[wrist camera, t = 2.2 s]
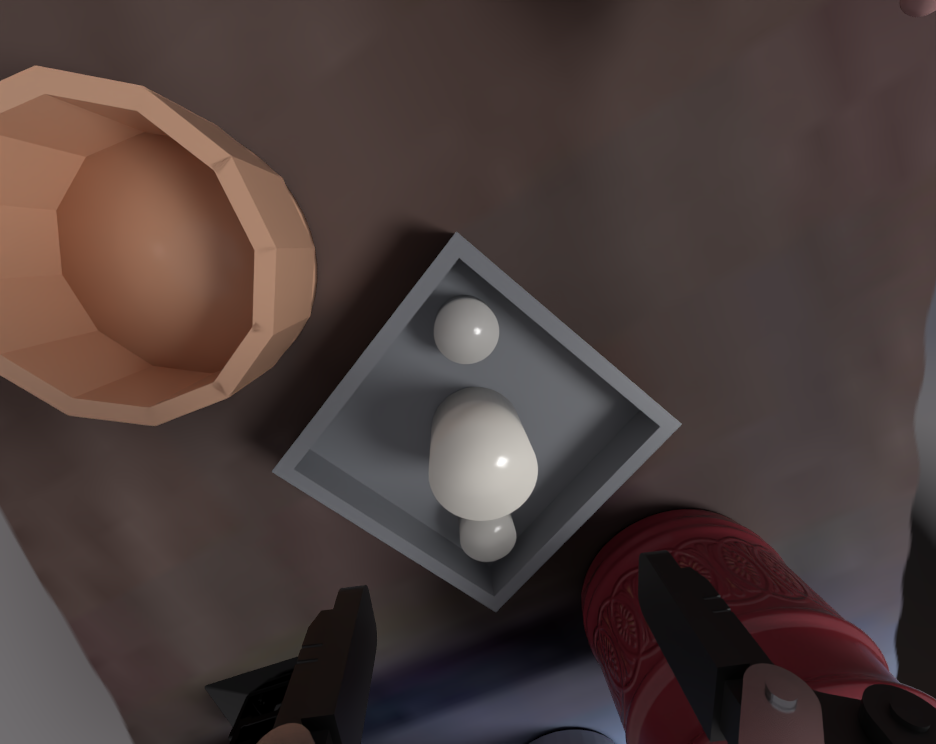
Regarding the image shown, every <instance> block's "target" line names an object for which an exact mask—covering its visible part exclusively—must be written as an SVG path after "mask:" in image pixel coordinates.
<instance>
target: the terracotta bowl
mask: <svg viewBox="0 0 936 744" xmlns="http://www.w3.org/2000/svg"><path fill="white" fill-rule="evenodd" d="M316 287H317V259H316V252H315V246H314V242H313V238H312V235H311V231H310V228H309V226H308V223H307V221H306V218H305V216H304V214H303V212H302V210H301V208H300V206H299V204H298V202H297V201H296V199H295V197H294V196H293V194H292V193H291V192H290V190H289V189H288V187H287V186H286V184H285V183H284V181H283V178H282V177H281V176H279V175H278V174H277V173H276V172H274V171H273V169H272V168H271V167H269V166H268V165H267V164H266V163H265V162H264V161H263V160H262V159H261V158H259V157H258V156H257V155H256V154H254V153H253V152H251V151H250V150H249V149H247V148H246V147H244V146H243V145H242V144H240V143H238V142H237V141H236V140H234V139H233V138H232V137H231V136H229V135H228V134H227V133H226V132H224V131H223V130H222V129H221V128H219V127H218V126H217V125H215V124H213V123H211V122H209V121H207V120H206V119H204V118H202V117H200V116H198V115H196V114H194V113H192V112H191V111H189V110H187V109H185V108H183V107H181V106H179V105H178V104H176V103H174V102H172V101H170V100H168V99H166V98H164V97H163V96H161V95H159V94H157V93H155V92H153V91H151V90H150V89H148V88H146V87H144V86H140V85H135V84H130V83H125V82H119V81H114V80H109V79H104V78H98V77H93V76H88V75H83V74H77V73H72V72H67V71H62V70H57V69H51V68H46V67H41V66H36V65H35V66H33V67H31V68H28V69H26V70H24V71H22V72H19V73H17V74H15V75H13V76H10V77H8V78H6V79H4V80H1V81H0V375H1V376H2V377H4V378H6V379H7V380H9V381H11V382H12V383H14V384H16V385H17V386H19V387H21V388H23V389H24V390H26V391H28V392H29V393H31V394H33V395H34V396H36V397H38V398H40V399H41V400H43V401H45V402H46V403H48V404H50V405H51V406H53V407H55V408H56V409H58V410H60V411H62V412H63V413H65V414H67V415H68V416H76V417H84V418H92V419H100V420H109V421H117V422H125V423H133V424H142V425H150V426H157V425H160V424H162V423H165V422H167V421H170V420H172V419H175V418H178V417H180V416H183V415H185V414H188V413H190V412H193V411H196V410H198V409H201V408H203V407H206V406H208V405H211V404H214V403H216V402H219V401H221V400H224V399H226V398H229V397H230V396H232V395H233V394H235V393H236V392H238V391H239V390H240V389H242V388H243V387H245V386H246V385H248V384H249V383H250V382H252V381H253V380H255V379H256V378H258V377H259V376H261V375H262V374H263V373H265V372H266V371H268V370H269V369H271V368H272V367H274V366H275V364H276V363H277V362H278V360H279V359H280V357H281V356H282V355H283V353H284V352H285V351H286V350H288V349H289V347H290V346H291V345H292V344H293V343H294V341H295V340H296V339H297V338H298V336H299V335H300V333H301V331H302V330H303V328H304V327H305V325H306V322H307V320H308V319H309V317H310V316H311V310H312V307H313V303H314V299H315V295H316Z"/></svg>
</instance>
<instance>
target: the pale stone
mask: <svg viewBox="0 0 936 744" xmlns="http://www.w3.org/2000/svg"><path fill="white" fill-rule="evenodd" d="M428 474H429V483H430V487H431V489H432V492H433V494H434V496H435V498H436V499H437V500H438V502H439V503H440V504H441V505H442V506H443V507H444V508H445V509H447V510H448V511H449V512H451V513H453V514H454V515H456V516H459V517H461V518H465V519H468V520H474V521H487V520H494V519H498V518H501V517H503V516H506V515H508V514H510V513H512V512H513V511H515V510H516V509H518V508H519V507H520V506H521V505H522V504H523V503H524V502H525V501H526V500H527V499H528V498H529V496H530V494H531V493H532V491H533V489H534V487H535V484H536V481H537V475H538V464H537V459H536V455H535V453H534V451H533V448H532V446H531V444H530V442H529V439H528V437H527V435H526V433H525V430H524V428H523V426H522V424H521V421H520V419H519V417H518V415H517V412H516V410H515V408H514V407H513V405H512V404H511V402H510V401H509V400H508V399H507V398H506V397H505V396H503V395H502V394H500V393H499V392H496V391H494V390H492V389H489V388H484V387H470V388H465V389H461V390H459V391H457V392H454V393H453V394H451V395H449V396H448V397H447V398H446V399H445V400H444V401H443V402H442V403H441V404H440V405H439V407H438V408H437V410H436V412H435V414H434V416H433V420H432V427H431V442H430V457H429V473H428Z"/></svg>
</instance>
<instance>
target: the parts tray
mask: <svg viewBox="0 0 936 744" xmlns="http://www.w3.org/2000/svg"><path fill="white" fill-rule="evenodd" d="M461 295H469V296H474V297H477V298H479V299H481V300H482V301H483V302H485V303H486V304H487V305H488V307H489V308H490V309H491V311H492V312H493V313H494V315H495V317H496V319H497V321H498V325H499V338H498V342H497V344H496V347H495V348H494V350H493V351H492V352H491V354H490V355H489V356H487V357H486V358H485V359H483V360H481V361H479V362H477V363H473V364H460V363H456V362H453V361H451V360H449V359H448V358H446V357H445V356H444V355H443V354H442V353H441V352H440V350H439V349H438V347H437V345H436V342H435V339H434V324H435V318H436V315H437V312H438V310H439V309H440V307H441V306H442V305H443V304H444V303H445V302H446V301H448V300H449V299H451V298H453V297H456V296H461ZM470 387H484V388H489V389H492V390H494V391H496V392H499V393H500V394H502V395H503V396H505V397H506V398H507V399H508V400H509V401H510V402H511V404H512V405H513V407H514V408H515V410H516V412H517V415H518V417H519V419H520V421H521V424H522V426H523V428H524V430H525V433H526V435H527V437H528V439H529V442H530V444H531V446H532V448H533V451H534V453H535V455H536V459H537V464H538V475H537V481H536V484H535V487H534V489H533V491H532V493H531V494H530V496H529V498H528V499H527V500H526V501H525V502H524V503H523V504H522V505H521V506H520V507H519V508H518V509H516V510H515V511H513V512H512V513H511V516H512V519H513V523H514V527H515V530H516V542H515V545H514V547H513V548H512V550H511V551H510V552H509V553H508V554H507V555H506V556H504V557H503V558H501V559H498V560H496V561H491V562H482V561H478V560H475V559H473V558H471V557H469V556H468V555H467V554H466V553H465V552H464V550H463V549H462V547H461V543H460V532H459V516H456V515H454V514H453V513H451V512H449V511H448V510H447V509H445V508H444V507H443V506H442V505H441V504H440V503H439V502H438V500H437V499H436V498H435V496H434V494H433V492H432V489H431V487H430V483H429V474H428V473H429V457H430V442H431V427H432V420H433V416H434V414H435V412H436V410H437V408H438V407H439V405H440V404H441V403H442V402H443V401H444V400H445V399H446V398H447V397H448V396H449V395H451V394H453V393H454V392H457V391H459V390H461V389H465V388H470ZM681 425H682V424H681V423H680V422H679V421H678V420H676V419H675V418H674V417H673V416H672V415H670V414H669V413H668V412H667V411H666V410H665V409H663V408H662V407H661V406H660V405H659V404H658V403H656V402H655V401H654V400H653V399H652V398H651V397H649V396H648V395H647V394H646V393H645V392H644V391H642V390H641V389H640V388H639V387H638V386H637V385H635V384H634V383H633V382H632V381H631V380H630V379H628V378H627V377H626V376H625V375H624V374H622V373H621V372H620V371H619V370H618V369H617V368H615V367H614V366H613V365H612V364H611V363H610V362H608V361H607V360H606V359H605V358H604V357H603V356H601V355H600V354H599V353H598V352H597V351H596V350H594V349H593V348H592V347H591V346H590V345H589V344H587V343H586V342H585V341H584V340H583V339H582V338H580V337H579V336H578V335H577V334H576V333H574V332H573V331H572V330H571V329H570V328H569V327H567V326H566V325H565V324H564V323H563V322H562V321H560V320H559V319H558V318H557V317H556V316H555V315H553V314H552V313H551V312H550V311H549V310H548V309H546V308H545V307H544V306H543V305H542V304H541V303H539V302H538V301H537V300H536V299H535V298H534V297H532V296H531V295H530V294H529V293H528V292H526V291H525V290H524V289H523V288H522V287H521V286H519V285H518V284H517V283H516V282H515V281H514V280H512V279H511V278H510V277H509V276H508V275H507V274H505V273H504V272H503V271H502V270H501V269H500V268H498V267H497V266H496V265H495V264H494V263H493V262H491V261H490V260H489V259H488V258H487V257H485V256H484V255H483V254H482V253H481V252H480V251H478V250H477V249H476V248H475V247H474V246H473V245H471V244H470V243H469V242H468V241H467V240H466V239H464V238H463V237H462V236H461V235H460V234H459V233H457V232H456V233H455V234H454V235H453V237H452V238H451V239H450V241H449V242H448V243H447V244H446V246H445V247H444V248H443V250H442V251H441V252H440V254H439V255H438V256H437V257H436V259H435V260H434V261H433V263H432V264H431V265H430V267H429V268H428V269H427V270H426V272H425V273H424V274H423V276H422V277H421V278H420V280H419V281H418V282H417V283H416V285H415V286H414V287H413V289H412V290H411V291H410V292H409V294H408V295H407V296H406V298H405V299H404V300H403V302H402V303H401V304H400V305H399V307H398V308H397V309H396V311H395V312H394V313H393V315H392V316H391V317H390V318H389V320H388V321H387V322H386V324H385V325H384V326H383V328H382V329H381V330H380V331H379V333H378V334H377V335H376V337H375V338H374V339H373V341H372V342H371V343H370V344H369V346H368V347H367V348H366V350H365V351H364V352H363V354H362V355H361V356H360V357H359V359H358V360H357V361H356V363H355V364H354V365H353V367H352V368H351V369H350V370H349V372H348V373H347V374H346V376H345V377H344V378H343V380H342V381H341V382H340V383H339V385H338V386H337V387H336V389H335V390H334V391H333V393H332V394H331V395H330V396H329V398H328V399H327V400H326V402H325V403H324V404H323V406H322V407H321V408H320V409H319V411H318V412H317V413H316V415H315V416H314V417H313V419H312V420H311V421H310V422H309V424H308V425H307V426H306V428H305V429H304V430H303V431H302V433H301V434H300V435H299V437H298V438H297V439H296V441H295V442H294V443H293V444H292V446H291V447H290V448H289V450H288V451H287V452H286V454H285V455H284V456H283V457H282V459H281V460H280V461H279V463H278V464H277V465H276V467H275V468H274V469H273V470H272V472H273V473H274V474H276V475H278V476H279V477H281V478H282V479H284V480H286V481H287V482H289V483H290V484H292V485H294V486H295V487H297V488H298V489H300V490H302V491H303V492H305V493H306V494H308V495H309V496H311V497H313V498H314V499H316V500H317V501H319V502H321V503H322V504H324V505H325V506H327V507H329V508H330V509H332V510H333V511H335V512H337V513H338V514H340V515H341V516H343V517H345V518H346V519H348V520H349V521H351V522H353V523H354V524H356V525H357V526H359V527H361V528H362V529H364V530H365V531H367V532H368V533H370V534H372V535H373V536H375V537H376V538H378V539H380V540H381V541H383V542H384V543H386V544H388V545H389V546H391V547H392V548H394V549H396V550H397V551H399V552H400V553H402V554H404V555H405V556H407V557H408V558H410V559H412V560H413V561H415V562H416V563H418V564H420V565H421V566H423V567H424V568H426V569H427V570H429V571H431V572H432V573H434V574H435V575H437V576H439V577H440V578H442V579H443V580H445V581H447V582H448V583H450V584H451V585H453V586H455V587H456V588H458V589H459V590H461V591H463V592H464V593H466V594H467V595H469V596H471V597H472V598H474V599H475V600H477V601H479V602H480V603H482V604H483V605H485V606H487V607H488V608H490V609H491V610H493V611H494V612H497V611H498V610H499V609H500V608H501V607H502V606H503V605H504V604H505V603H506V602H507V601H508V600H509V599H510V598H511V597H512V596H513V595H514V593H515V592H516V591H517V590H518V589H519V588H520V587H521V586H522V585H523V584H524V583H525V582H526V581H527V580H528V579H529V578H530V577H531V576H532V575H533V574H534V573H535V572H536V571H537V570H538V569H539V568H540V567H541V566H542V565H543V564H544V563H545V562H546V561H547V560H548V559H549V558H550V557H551V556H552V555H553V554H554V553H555V552H556V551H557V550H558V549H559V548H560V547H561V546H562V545H563V544H564V543H565V542H566V541H567V540H568V539H569V538H570V537H571V536H572V535H573V534H574V533H575V532H576V531H577V530H578V529H579V528H580V527H581V526H582V525H583V524H584V523H585V522H586V521H587V520H588V519H589V518H590V517H591V516H592V515H593V514H594V513H595V512H596V511H597V510H598V509H599V508H600V506H601V505H602V504H603V503H604V502H605V501H606V500H607V499H608V498H609V497H610V496H611V495H612V494H613V493H614V492H615V491H616V490H617V489H618V488H619V487H620V486H621V485H622V484H623V483H624V482H625V481H626V480H627V479H628V478H629V477H630V476H631V475H632V474H633V473H634V472H635V471H636V470H637V469H638V468H639V467H640V466H641V465H642V464H643V463H644V462H645V461H646V460H647V459H648V458H649V457H650V456H651V455H652V454H653V453H654V452H655V451H656V450H657V449H658V448H659V447H660V446H661V445H662V444H663V443H664V442H665V441H666V440H667V439H668V438H669V437H670V436H671V435H672V434H673V433H674V432H675V431H676V430H677V429H678V428H679V427H680V426H681Z"/></svg>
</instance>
